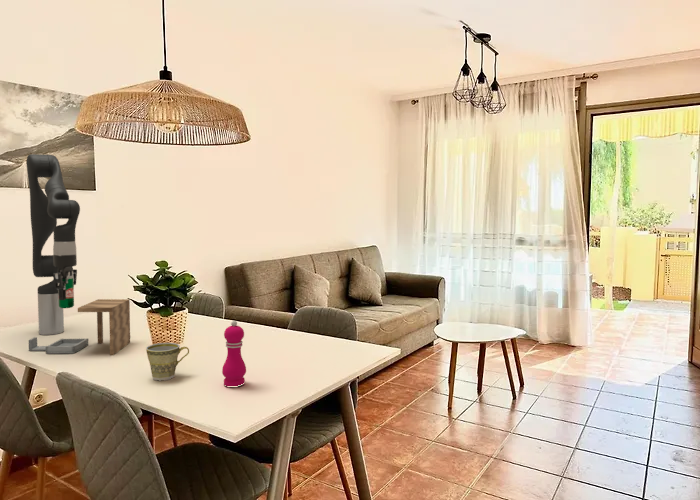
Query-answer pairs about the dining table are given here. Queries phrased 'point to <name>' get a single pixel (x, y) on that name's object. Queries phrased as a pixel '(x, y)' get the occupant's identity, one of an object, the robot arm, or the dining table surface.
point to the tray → (59, 345)
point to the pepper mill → (234, 356)
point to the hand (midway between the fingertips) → (66, 298)
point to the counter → (112, 321)
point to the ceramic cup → (164, 359)
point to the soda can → (68, 294)
